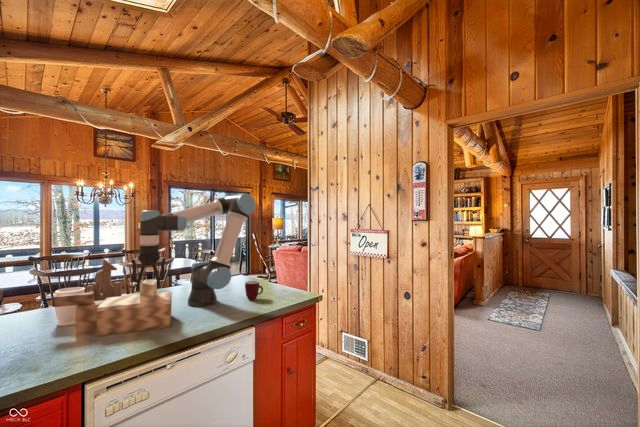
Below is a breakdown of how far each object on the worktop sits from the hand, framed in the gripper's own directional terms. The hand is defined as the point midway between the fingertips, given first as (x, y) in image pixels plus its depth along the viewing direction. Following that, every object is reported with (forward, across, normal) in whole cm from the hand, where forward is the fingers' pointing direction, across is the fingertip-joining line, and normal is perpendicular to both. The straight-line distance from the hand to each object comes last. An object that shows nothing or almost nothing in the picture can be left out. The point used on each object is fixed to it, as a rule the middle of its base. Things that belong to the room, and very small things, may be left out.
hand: (148, 296), depth 131 cm
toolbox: (+12, +8, 0) cm, 15 cm away
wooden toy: (+13, +24, -37) cm, 46 cm away
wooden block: (0, +26, 0) cm, 26 cm away
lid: (+2, +4, 0) cm, 5 cm away
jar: (+12, +32, -15) cm, 37 cm away
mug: (+12, -52, -21) cm, 57 cm away
